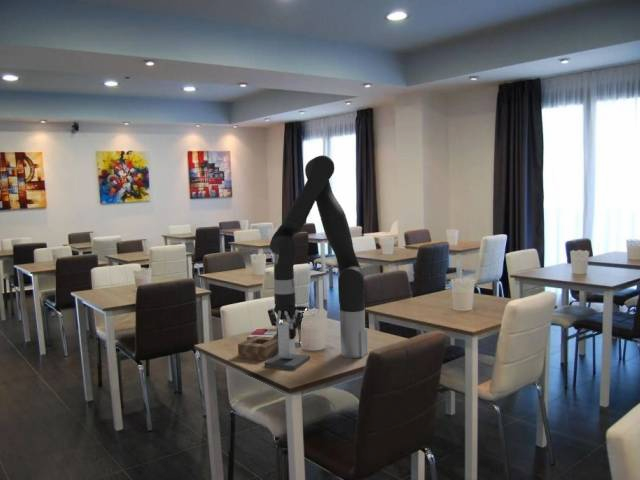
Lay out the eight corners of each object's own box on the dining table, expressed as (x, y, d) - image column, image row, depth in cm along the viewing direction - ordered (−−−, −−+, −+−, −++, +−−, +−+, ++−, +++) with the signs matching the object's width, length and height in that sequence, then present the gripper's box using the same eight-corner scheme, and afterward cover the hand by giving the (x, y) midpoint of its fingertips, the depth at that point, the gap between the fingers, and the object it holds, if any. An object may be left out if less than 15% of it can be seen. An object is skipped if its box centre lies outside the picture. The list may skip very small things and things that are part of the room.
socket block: (281, 351, 208) (281, 338, 208) (265, 360, 197) (265, 347, 197) (255, 348, 213) (254, 335, 213) (238, 357, 202) (237, 344, 202)
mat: (309, 359, 196) (309, 355, 196) (294, 370, 186) (294, 366, 185) (280, 356, 201) (280, 352, 201) (264, 366, 191) (264, 362, 190)
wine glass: (300, 340, 222) (299, 305, 220) (314, 344, 216) (312, 307, 214) (286, 345, 216) (284, 308, 215) (299, 348, 210) (298, 311, 209)
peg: (295, 355, 194) (294, 322, 193) (289, 358, 190) (288, 325, 189) (284, 353, 196) (283, 321, 195) (278, 357, 192) (277, 324, 191)
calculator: (281, 328, 230) (273, 336, 215) (281, 338, 230) (273, 346, 215) (256, 328, 231) (246, 336, 217) (256, 338, 232) (246, 346, 217)
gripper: (307, 290, 191) (308, 337, 193) (272, 288, 197) (274, 333, 199) (297, 294, 185) (299, 342, 186) (262, 292, 191) (264, 339, 192)
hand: (286, 337), depth 193 cm, fingers closed on peg, 4 cm apart
